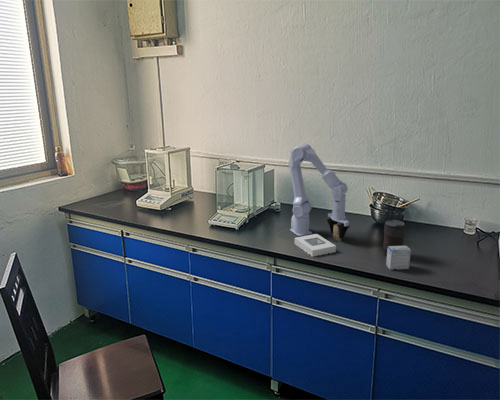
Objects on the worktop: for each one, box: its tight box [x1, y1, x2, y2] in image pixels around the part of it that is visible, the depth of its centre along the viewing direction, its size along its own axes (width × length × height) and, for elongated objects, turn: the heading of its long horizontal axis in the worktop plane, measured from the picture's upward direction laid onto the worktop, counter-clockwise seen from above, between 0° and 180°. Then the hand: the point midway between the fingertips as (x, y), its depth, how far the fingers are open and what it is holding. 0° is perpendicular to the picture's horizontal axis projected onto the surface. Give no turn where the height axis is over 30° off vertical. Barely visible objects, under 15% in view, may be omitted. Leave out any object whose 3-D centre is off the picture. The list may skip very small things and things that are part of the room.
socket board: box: [294, 233, 337, 258], centre depth 183 cm, size 16×12×3 cm
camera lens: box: [382, 219, 406, 258], centre depth 172 cm, size 8×8×15 cm
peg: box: [332, 223, 343, 242], centre depth 191 cm, size 4×4×7 cm
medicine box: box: [385, 245, 412, 271], centre depth 162 cm, size 8×4×9 cm, turn 92°
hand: (337, 235), depth 192 cm, fingers open, 6 cm apart
